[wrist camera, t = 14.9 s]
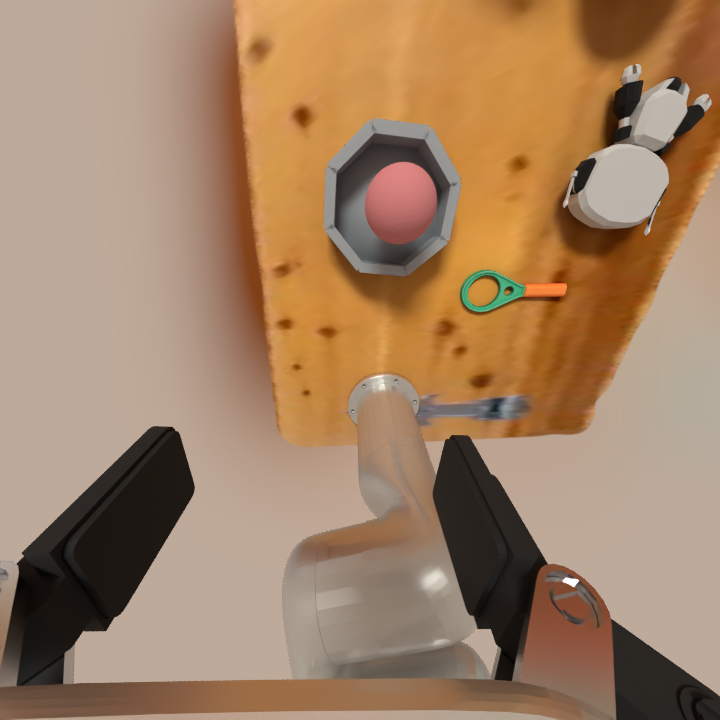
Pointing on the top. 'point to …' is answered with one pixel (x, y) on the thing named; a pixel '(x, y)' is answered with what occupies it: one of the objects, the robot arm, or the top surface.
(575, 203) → the robot toy
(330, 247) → the top surface
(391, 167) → the light bulb
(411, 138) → the ceramic bowl
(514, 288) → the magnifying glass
